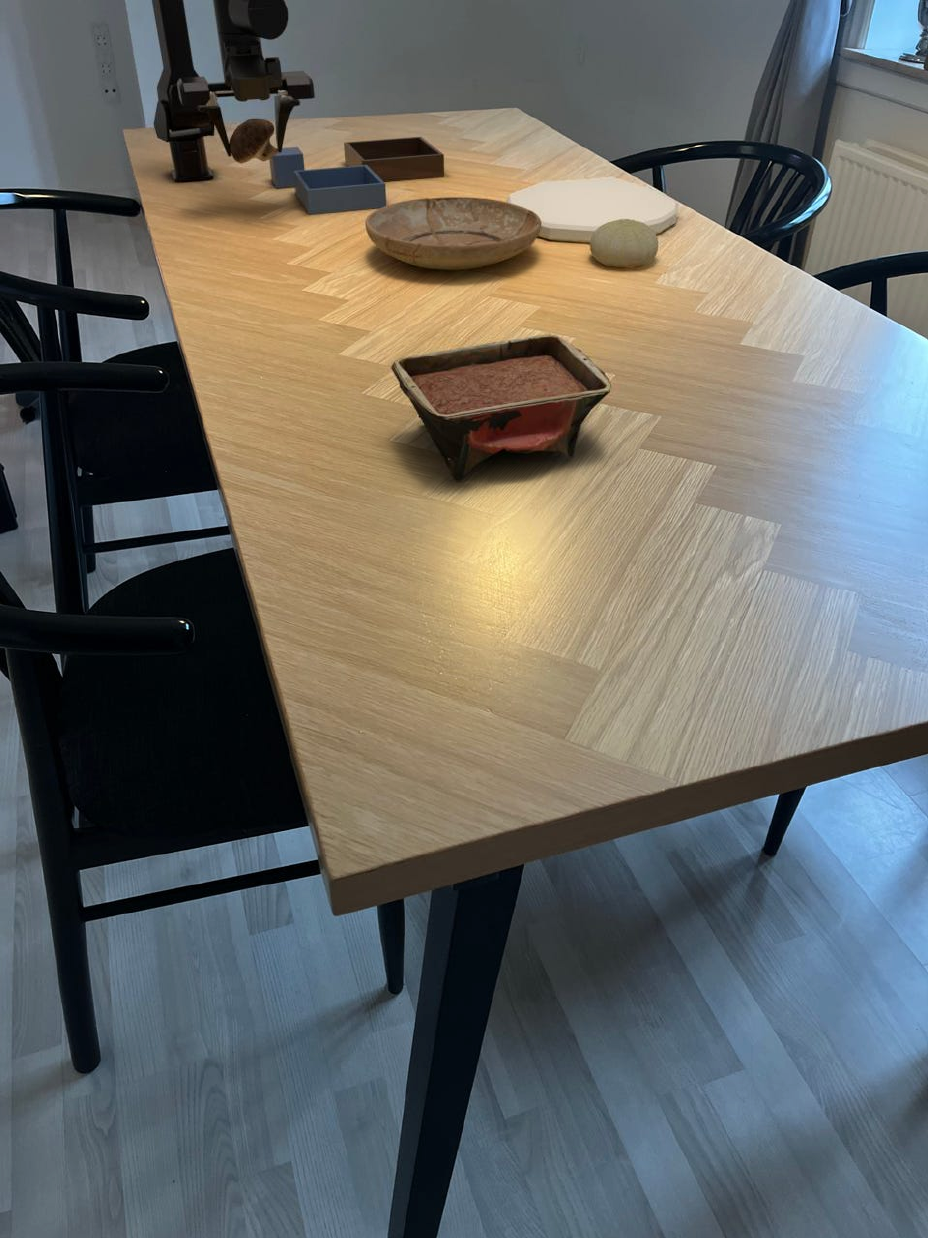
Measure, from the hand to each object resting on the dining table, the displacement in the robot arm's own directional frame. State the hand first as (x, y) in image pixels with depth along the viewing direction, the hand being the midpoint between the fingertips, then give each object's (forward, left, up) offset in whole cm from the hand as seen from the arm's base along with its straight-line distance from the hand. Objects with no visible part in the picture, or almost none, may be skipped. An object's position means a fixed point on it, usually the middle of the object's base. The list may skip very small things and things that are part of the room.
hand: (254, 153), depth 140 cm
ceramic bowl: (+29, +22, -9) cm, 37 cm away
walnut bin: (-19, +26, -8) cm, 33 cm away
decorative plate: (+19, +47, -9) cm, 51 cm away
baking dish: (+81, +10, -9) cm, 82 cm away
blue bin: (-3, +13, -8) cm, 16 cm away
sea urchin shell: (+38, +43, -9) cm, 58 cm away
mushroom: (0, 0, -1) cm, 1 cm away
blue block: (-16, +7, -8) cm, 19 cm away
